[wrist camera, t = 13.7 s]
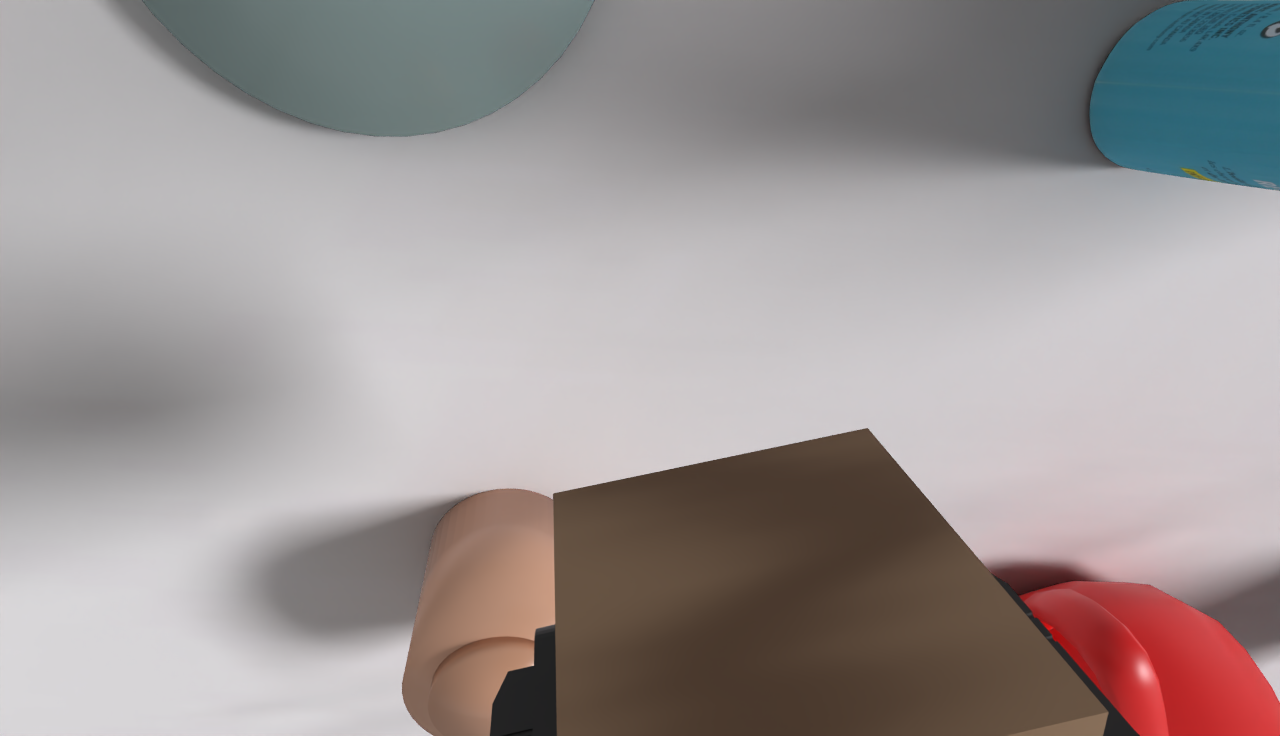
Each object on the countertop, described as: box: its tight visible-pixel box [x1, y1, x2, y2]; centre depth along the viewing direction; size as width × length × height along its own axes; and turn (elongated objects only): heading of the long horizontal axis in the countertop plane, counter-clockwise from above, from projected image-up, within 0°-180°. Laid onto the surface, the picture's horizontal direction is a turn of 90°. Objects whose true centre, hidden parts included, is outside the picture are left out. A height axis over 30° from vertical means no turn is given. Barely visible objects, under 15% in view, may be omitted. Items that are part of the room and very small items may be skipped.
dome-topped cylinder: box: [402, 489, 555, 736], centre depth 22 cm, size 6×6×7 cm
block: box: [553, 428, 1108, 736], centre depth 9 cm, size 5×5×5 cm
